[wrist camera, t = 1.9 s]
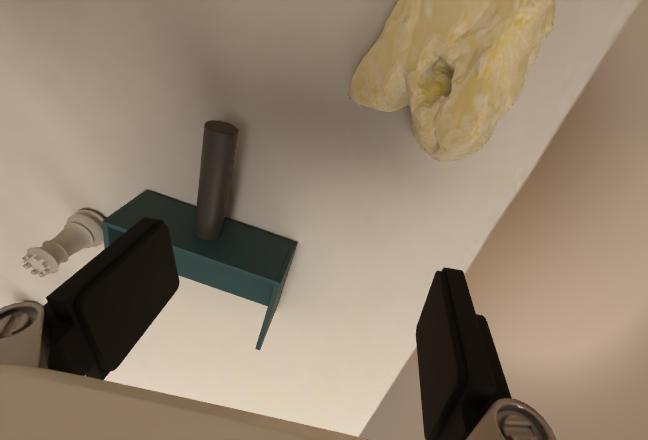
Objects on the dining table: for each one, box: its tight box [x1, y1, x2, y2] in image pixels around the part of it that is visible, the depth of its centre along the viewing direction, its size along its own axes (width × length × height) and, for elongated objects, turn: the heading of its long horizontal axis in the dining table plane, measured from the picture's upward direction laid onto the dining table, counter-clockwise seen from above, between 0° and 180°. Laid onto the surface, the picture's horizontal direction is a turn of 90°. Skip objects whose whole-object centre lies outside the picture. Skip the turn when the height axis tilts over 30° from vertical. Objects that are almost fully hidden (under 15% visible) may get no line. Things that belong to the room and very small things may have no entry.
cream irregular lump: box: [349, 0, 555, 162], centre depth 21 cm, size 15×7×15 cm
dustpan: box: [102, 120, 297, 350], centre depth 32 cm, size 17×22×6 cm
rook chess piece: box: [22, 210, 105, 277], centre depth 36 cm, size 4×4×8 cm
